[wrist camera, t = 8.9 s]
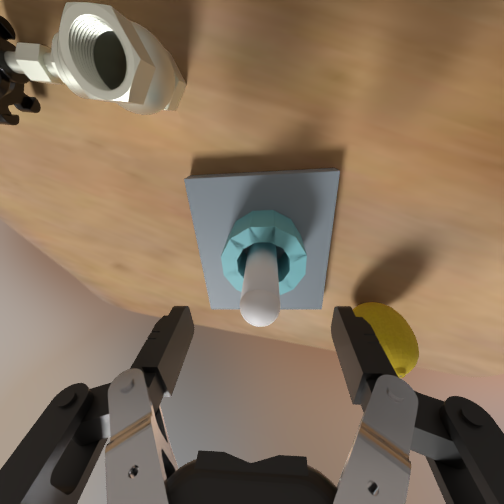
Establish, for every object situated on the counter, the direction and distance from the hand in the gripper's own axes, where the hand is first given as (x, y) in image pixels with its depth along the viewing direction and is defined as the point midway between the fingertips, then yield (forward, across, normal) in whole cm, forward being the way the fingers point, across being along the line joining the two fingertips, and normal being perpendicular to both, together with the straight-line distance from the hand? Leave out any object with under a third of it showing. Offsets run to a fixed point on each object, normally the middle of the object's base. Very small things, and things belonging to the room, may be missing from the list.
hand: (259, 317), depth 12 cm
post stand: (+10, 0, 0) cm, 10 cm away
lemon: (+10, -11, +9) cm, 18 cm away
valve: (+10, +11, -13) cm, 20 cm away
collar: (+9, 0, 0) cm, 9 cm away
